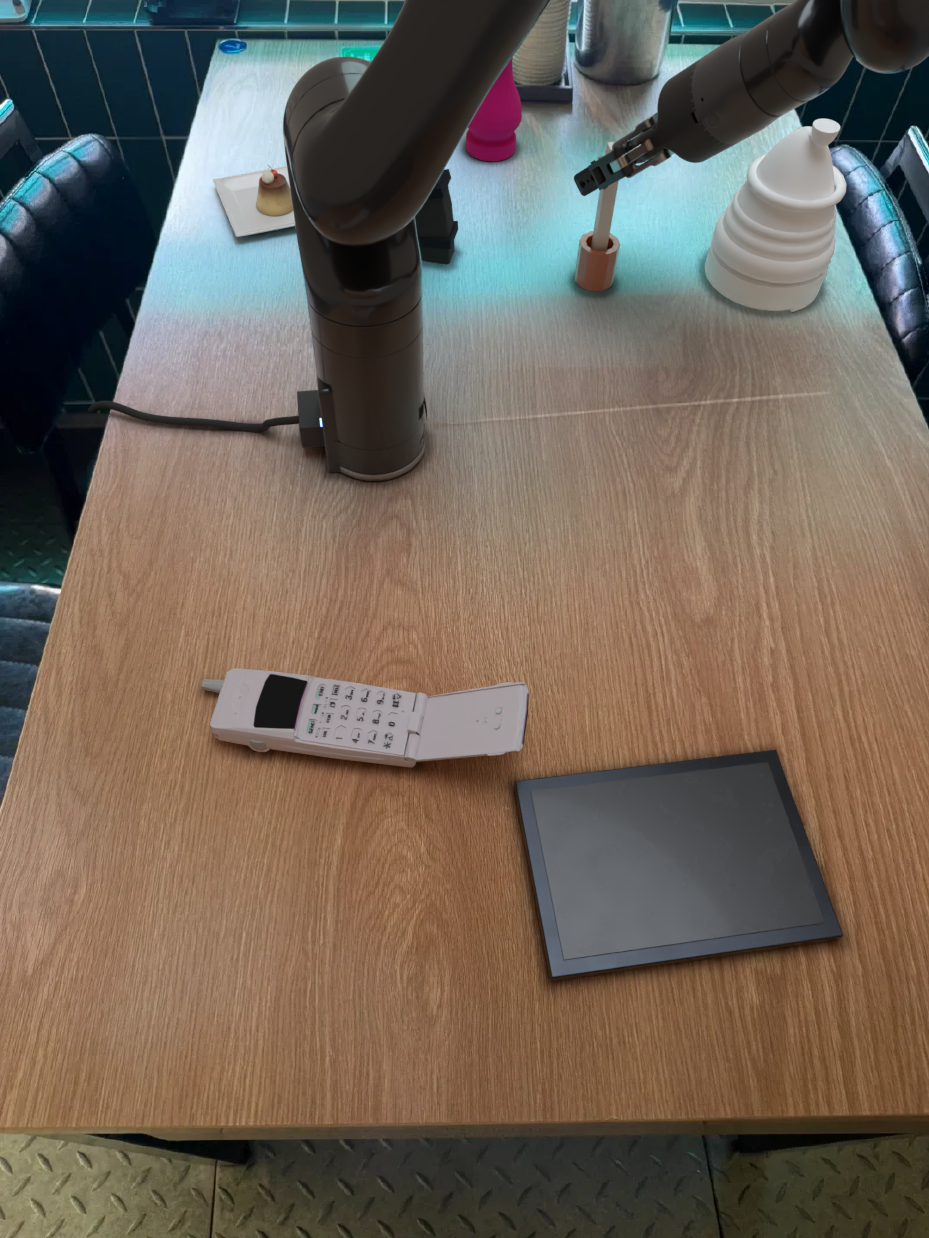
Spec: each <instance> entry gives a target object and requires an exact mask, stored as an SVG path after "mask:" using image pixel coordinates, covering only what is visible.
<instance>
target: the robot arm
mask: <svg viewBox="0 0 929 1238" xmlns="http://www.w3.org/2000/svg"><path fill="white" fill-rule="evenodd" d="M552 2H553V0H404V2H403V4H402V6H401V9H400V10H399V13H398V15H397V17H396V19H395V21H394V23H393V26H391V29H390V30H389V32H388V34H387V36H386V38H385V39H384V41H383V43H382V44H381V46H380V47H379V49H378V50H377V52H376V53H375V55H374V57H373V58H372V60H371V61H370V60H368V59H364V58H361V57H358V56H357V57H356V56H336V57H335V56H334V57H331V58H328V59H325V60H322V61H320V62H318V63H316V64H315V65H313V66H312V67H311V68H309V69H308V70H307V71H306V72H304V74H303V75H302V76H301V77H299V79H298V81H296V83H295V85H294V86H293V88H292V89H291V91H290V94H289V96H288V99H287V101H286V104H285V107H284V112H283V119H282V137H283V145H284V147H283V148H284V154H285V162H286V166H287V170H288V177H289V184H290V191H291V198H292V205H293V212H294V219H295V226H294V227H295V234H296V241H297V246H298V252H299V258H300V263H301V269H302V275H303V282H304V289H305V295H306V302H307V303H306V304H307V309H308V317H309V325H310V332H311V334H310V335H311V340H312V348H313V356H314V365H315V372H316V385H317V386H316V387H317V389H312V390H299V391H296V397H297V398H296V399H297V415H292V416H280V417H273V418H268V419H265V420H264V421H263V422H262V423H249V422H238V421H229V420H222V419H221V420H220V419H211V418H199V417H182V416H181V417H180V416H167V415H159V414H152V413H147V412H144V411H141V410H137V409H135V408H133V407H129V406H128V405H125V404H122V403H119V402H116V401H111V400H100V401H97V402H93V403H92V404H91V405H90V406H89V407H88V409H87V412H89V413H92V414H93V413H97V412H98V411H100V410H112V411H116V412H119V413H121V414H124V415H126V416H129V417H132V418H133V419H137V420H139V421H143V422H146V423H147V422H148V423H153V424H159V425H170V426H184V427H185V426H186V427H201V428H202V427H203V428H213V429H224V430H231V431H240V432H253V433H255V432H257V433H258V432H266V431H268V430H269V429H270V428H273V427H279V426H290V425H298V427H299V428H298V430H299V435H300V436H299V437H300V441H301V447H302V448H303V449H306V448H308V449H309V448H318V447H324V449H325V457H326V465H327V471H328V472H329V473H342V474H344V475H345V476H348V477H350V478H353V479H357V480H361V481H367V482H368V481H369V482H378V481H379V482H380V481H386V480H391V479H395V478H397V477H400V476H403V475H404V474H406V473H408V472H409V471H411V470H413V468H414V467H416V466H417V464H418V463H419V462H420V461H421V459H422V457H423V456H424V453H425V450H426V434H425V419H426V420H428V407H427V403H426V396H425V389H424V388H425V387H424V385H425V383H424V382H425V381H424V380H425V379H424V296H423V295H424V293H423V260H421V253H420V247H419V242H418V236H417V229H416V221H415V216H416V214H417V213H418V212H419V211H420V209H421V208H422V206H423V205H424V203H425V202H426V200H427V198H428V197H429V195H430V194H431V192H432V190H433V188H434V187H435V185H436V183H437V181H438V180H439V178H440V176H441V174H442V172H443V171H444V170H446V167H447V165H448V163H449V162H450V160H451V158H452V156H453V155H454V153H455V151H456V149H457V147H458V146H459V144H460V143H461V141H462V139H463V137H464V135H465V134H466V132H467V131H468V129H469V128H468V126H469V124H470V123H471V121H472V119H473V117H474V116H475V114H476V112H477V110H478V109H479V107H480V105H481V104H482V102H483V100H484V99H485V97H486V95H487V94H488V92H489V91H490V89H491V87H492V86H493V84H494V83H495V81H496V80H497V78H498V77H499V75H500V74H501V72H502V71H503V70H504V68H505V67H506V65H507V64H508V63H509V61H510V60H511V58H512V57H513V58H514V56H515V54H517V52H518V50H519V49H520V48H521V46H522V45H523V43H524V42H525V40H526V39H527V38H528V36H529V35H530V33H531V32H532V31H533V30H534V28H535V26H536V25H537V23H538V22H539V20H540V19H541V18H542V16H543V14H545V12H546V10H547V9H548V7H549V6H550V4H551V3H552ZM928 57H929V0H794V1H792V3H789V4H788V5H786V6H784V7H783V8H781V9H780V10H778V11H776V12H775V13H773V14H771V15H770V16H769V17H767V18H766V19H764V20H763V21H761V22H759V23H758V24H757V25H755V26H754V27H752V28H751V29H749V30H747V31H745V32H743V33H741V34H739V35H737V36H735V37H732V38H730V39H729V40H726V41H725V42H723V43H722V44H720V45H719V46H717V47H716V48H714V49H713V50H711V51H710V52H708V53H707V54H705V55H704V56H702V57H701V58H699V59H697V60H696V61H694V62H693V63H692V64H690V65H688V66H687V67H686V68H684V69H682V70H680V71H679V72H678V73H677V74H674V76H672V77H671V78H669V79H668V80H667V81H665V83H664V84H663V86H662V87H661V89H660V92H659V95H658V99H657V106H656V108H657V109H656V111H657V112H655V113H653V115H651V116H649V117H648V118H646V119H644V120H643V121H641V122H640V123H637V125H636V126H635V128H634V130H632V131H630V132H629V133H628V134H626V135H624V136H623V137H621V138H619V139H618V140H617V141H614V142H615V143H614V144H613V145H612V151H611V152H609V153H608V154H606V155H605V154H604V155H602V154H601V155H600V156H598V157H597V159H594V160H592V161H591V162H590V164H589V165H588V166H587V167H585V168H584V169H582V170H580V171H579V172H577V173H576V174H574V176H573V182H574V184H575V185H576V188H577V189H578V191H579V194H580V195H581V196H583V197H586V196H587V195H590V194H592V193H593V192H595V191H597V190H599V191H600V190H601V189H603V190H604V189H606V188H608V186H609V185H611V184H613V183H615V182H617V181H618V180H619V181H620V180H622V179H625V178H627V179H631V178H632V177H634V176H636V175H638V174H639V173H641V172H643V171H645V170H646V169H648V168H650V167H657V166H659V165H660V164H662V163H664V162H666V161H667V160H668V159H670V158H671V157H672V155H676V156H677V157H678V158H680V159H681V160H683V161H685V162H687V163H692V164H698V163H703V162H706V161H707V160H709V159H712V158H713V157H715V156H717V155H719V154H721V153H722V152H724V151H726V150H727V149H729V148H731V147H733V146H735V145H737V144H739V143H741V142H742V141H744V140H746V139H748V138H750V137H752V136H753V135H756V134H758V133H759V132H762V130H764V129H766V128H767V127H769V126H770V125H771V124H773V123H774V122H775V121H776V120H778V119H779V118H781V117H782V116H784V115H785V114H787V113H789V112H791V111H793V110H795V109H797V108H799V107H800V106H802V105H804V104H806V103H808V102H809V101H812V100H814V99H815V98H817V97H819V96H821V95H822V94H824V93H825V92H827V91H829V90H830V89H831V88H832V87H833V86H834V85H836V84H837V83H838V82H839V81H840V79H841V78H842V77H843V75H844V74H845V72H846V71H847V69H848V67H849V66H850V63H851V62H852V60H853V58H854V59H855V61H856V62H858V63H859V64H860V65H862V66H863V67H864V68H865V69H868V70H869V71H871V72H874V73H878V74H883V75H885V74H886V75H889V74H890V75H891V74H892V75H893V74H898V73H902V72H905V71H908V70H910V69H912V68H914V67H916V66H918V65H919V64H921V63H922V62H923V61H925V60H926V59H927V58H928Z"/></svg>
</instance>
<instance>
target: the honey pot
mask: <svg viewBox="0 0 929 1238" xmlns="http://www.w3.org/2000/svg"><path fill="white" fill-rule="evenodd" d="M840 131H841V125H840V123H838V122H837V121H835V120H833V119H830V118H817V119H815V120H813V122H812V125H811V126H810V125H809V126H808V125H807V126H806V125H805V126H802V127H801V126H800V127H798V128H796V129H794V130H792V131H791V132H789V133H788V134H786V135H785V136H783V137H782V138H781V139H780V140H779V141H777V142H776V144H775V145H773V146H772V148H770V149H769V151H768V152H767V153H765V154H763V155H760V156H759V157H757V158H756V159H754V160H753V161H752V162H751V164H750V165H749V166H748V167H747V171H746V177H745V178H746V180H745V181H744V183H743V184H742V185H741V186H740V187H739V188H738V189H737V190H736V192H735V193H734V194H733V197H732V199H731V200H730V202H729V203H728V204H727V206H726V208H725V210H723V212H722V213H721V214H720V215H719V217H718V219H717V221H716V222H715V225H714V230H713V232H712V237H711V239H710V244H709V247H708V250H707V255H706V258H705V263H704V266H703V268H704V273H705V277H706V279H707V280H708V282H709V284H710V285H711V287H712V288H714V290H716V291H717V292H718V293H719V294H720V295H722V296H723V297H725V298H727V299H728V300H730V301H732V302H733V303H736V304H739V305H741V306H744V307H746V308H750V309H755V310H761V311H771V312H772V311H773V312H781V311H790V313H794V312H797V311H800V310H802V309H805V308H806V307H808V306H809V305H810V304H812V303H813V302H815V299H816V298H817V296H818V294H820V290H821V289H822V285H823V282H824V280H825V277H826V276H827V273H828V271H829V266H830V264H831V262H832V260H831V259H832V258H833V257H834V255H835V249H836V238H835V233H836V222H837V214H838V213H837V209H836V205H837V204H838V203H840V202H841V201H842V200H843V198H844V197H845V195H846V193H847V185H848V184H847V182H846V179H845V176H844V174H843V173H842V172H841V171H840V170H839V168H838V167H836V166H835V165H834V164H833V159H832V154H831V150H830V147H829V145H830V144H832V142H833V141H834V140H835V139H836V138H837V136H838V135H839V133H840Z"/></svg>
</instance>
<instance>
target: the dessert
mask: <svg viewBox="0 0 929 1238" xmlns="http://www.w3.org/2000/svg"><path fill="white" fill-rule="evenodd" d="M267 167H268V168H267V169H262V170H257V171H251V172H247V173H241V174H236V175H235V174H234V175H231V176H224V177H219V178H213V179H212V182H213V184H214V187H215V189H216V192H217V194H218V196H219V199H220V201H221V203H222V206H223V208H224V211H225V213H226V216H227V217H228V220H229V223H230V225H231V227H232V230H233V233H234V235H235V237H236V238H240V237H247V236H253V235H259V234H263V233H268V232H273V231H278V230H283V229H288V228H289V229H290V228H293V227H295V219H294V212H293V205H292V198H291V191H290V184H289V177H288V170H287V165H285V166H279V167H274V168H273V167H271V166H270V165H269V164H267Z"/></svg>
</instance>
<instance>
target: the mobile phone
mask: <svg viewBox="0 0 929 1238" xmlns="http://www.w3.org/2000/svg"><path fill="white" fill-rule="evenodd" d="M201 689H202V690H203V691H209V692H214V693H218V697H217V700H216V703H215V706H214V709H213V711H212V715H211V718H210V720H209V721H210V722H209V727H210V730H211V732H212V735H213V736H214V737H215V738H216V739H217V740H219V741H222V742H228V743H232V744H238V745H242V746H243V745H244V746H248V747H249V748H250V749H251V750H252V751H255V752H258V753H266V752H268V751H270V750H273V751H281V752H287V753H295V754H301V755H310V756H316V757H322V758H328V759H329V758H330V759H336V760H344V761H352V762H353V761H354V762H362V763H370V764H380V765H385V766H395V767H403V768H414V767H415V766H416V764H417V762H419V763H420V762H429V761H440V760H453V759H454V760H455V759H465V758H475V757H476V758H477V757H485V756H489V757H493V756H502V755H505V754H509V753H516V752H520V751H521V750H522V749H523V747H524V743H525V736H526V730H527V723H528V715H529V703H530V701H529V699H530V690H529V688H528V685H527V683H525V682H524V681H518V682H514V681H507V682H500V683H497V684H495V685H494V684H493V685H489V686H483V687H476V688H471V689H470V688H469V689H464V690H459V691H458V690H457V691H452V692H446V693H445V692H444V693H440V694H434V695H433V694H432V695H427V694H426V693H424V692H421V691H419V692H417V693H416V692H411V691H407V690H400V689H394V688H388V687H383V686H377V685H372V684H365V683H358V682H353V681H346V680H340V679H339V680H338V679H332V678H326V677H325V678H324V677H317V676H312V675H307V674H299V673H292V672H291V673H290V672H283V671H274V670H263V669H251V668H241V667H240V668H239V667H234V668H231V669H229V670H228V671H227V672H226V673H225V676H224V679H215V678H213V679H212V678H203V680H202V682H201Z"/></svg>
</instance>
